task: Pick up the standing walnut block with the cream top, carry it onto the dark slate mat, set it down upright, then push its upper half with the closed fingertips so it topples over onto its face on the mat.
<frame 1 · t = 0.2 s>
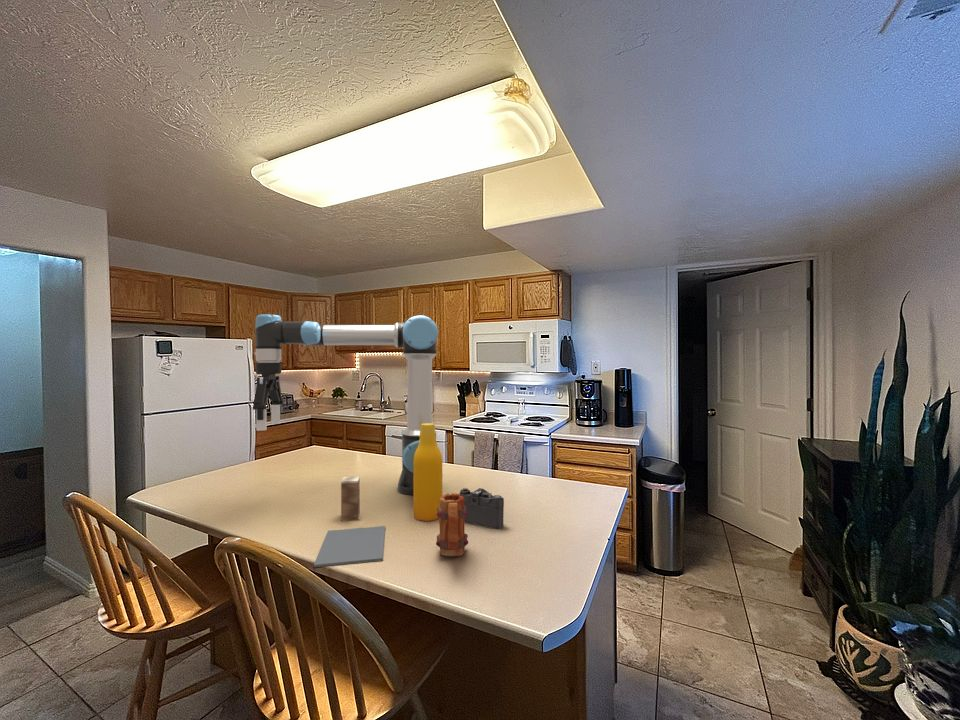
hand: (268, 427, 134), 28 cm above the countertop, fingers open, 13 cm apart
mat: (353, 545, 109), on the countertop
block: (350, 517, 129), on the countertop
beer bottle: (428, 516, 129), on the countertop
camera: (485, 520, 126), on the countertop
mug: (452, 558, 102), on the countertop
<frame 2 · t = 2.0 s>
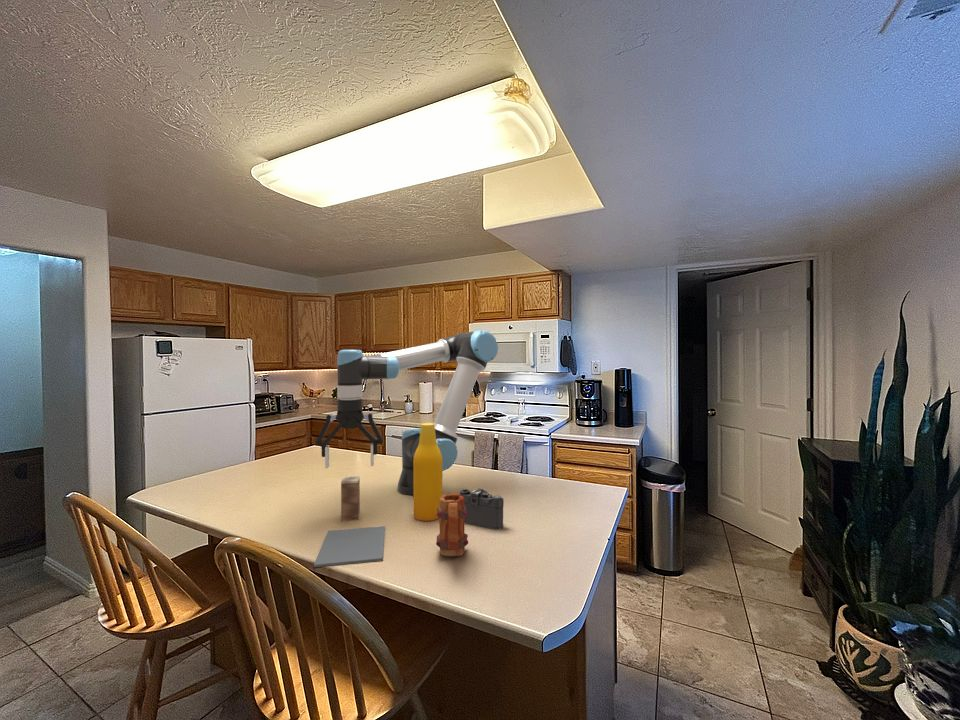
hand: (349, 466, 129), 16 cm above the countertop, fingers open, 13 cm apart
nothing on the countertop moved.
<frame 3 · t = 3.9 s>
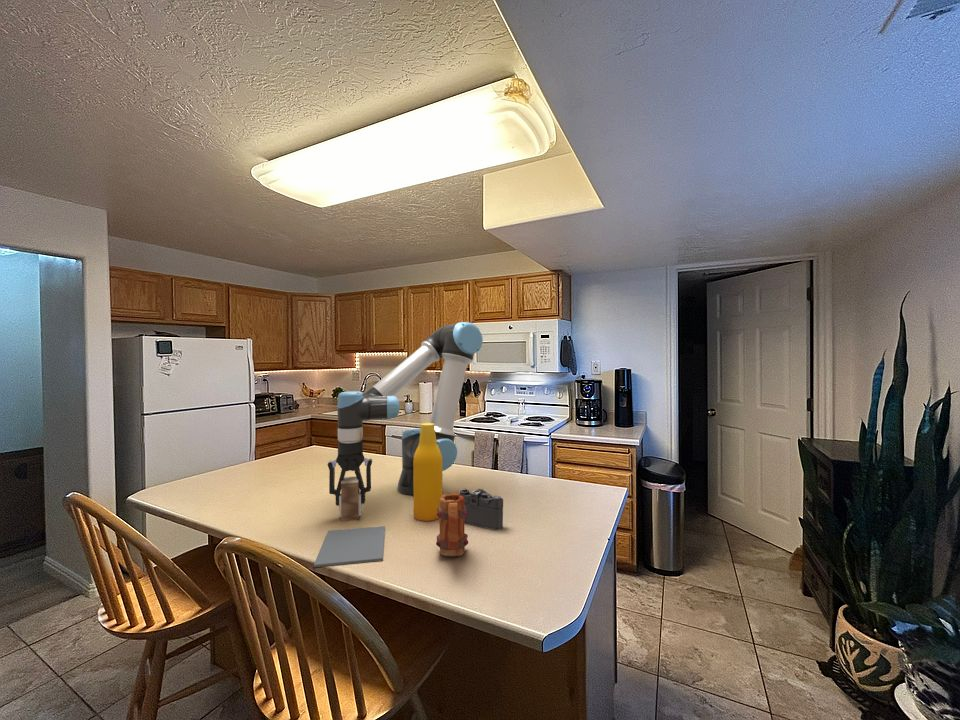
hand: (350, 514, 129), 1 cm above the countertop, fingers closed on block, 5 cm apart
block: (350, 517, 129), on the countertop, touching gripper
everything else where it was.
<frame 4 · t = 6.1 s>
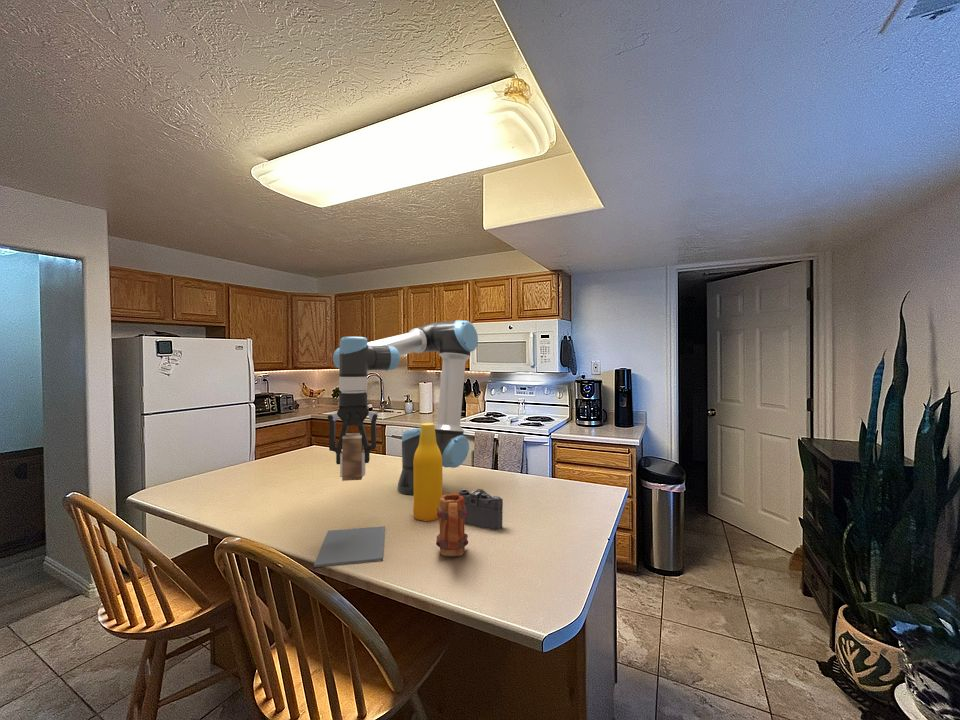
hand: (353, 475, 114), 17 cm above the countertop, fingers closed on block, 5 cm apart
block: (352, 477, 114), point 16 cm above the countertop, touching gripper
when the fingers open (3 cm above the countertop, at t = 8.1 s): block drops 1 cm, resting on mat.
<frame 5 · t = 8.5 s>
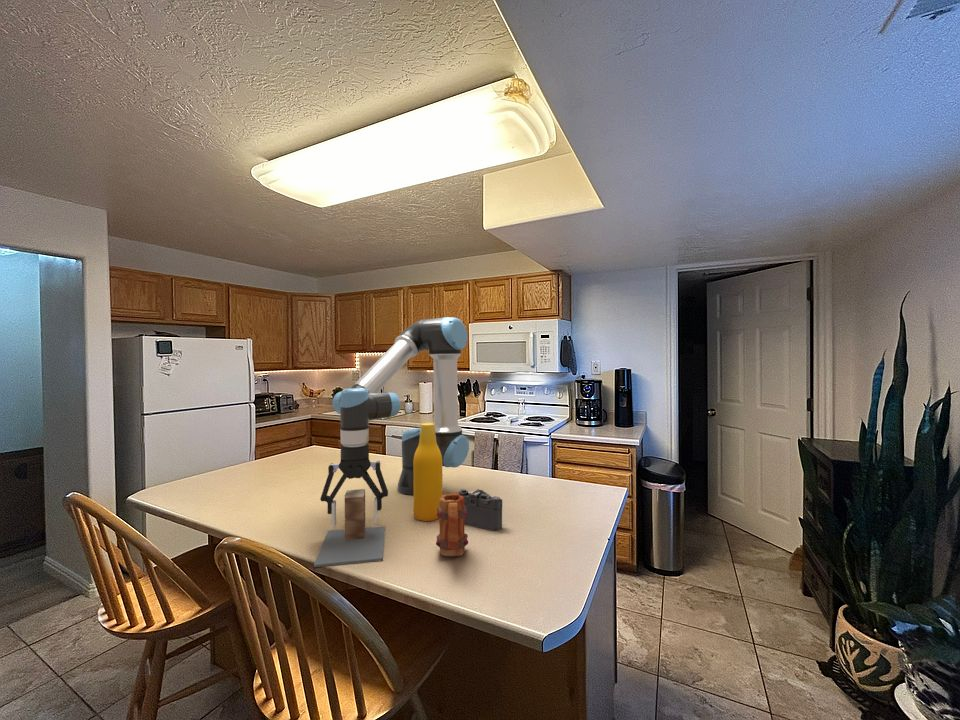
hand: (355, 523, 113), 4 cm above the countertop, fingers open, 10 cm apart
block: (355, 535, 113), point 1 cm above the countertop, touching mat
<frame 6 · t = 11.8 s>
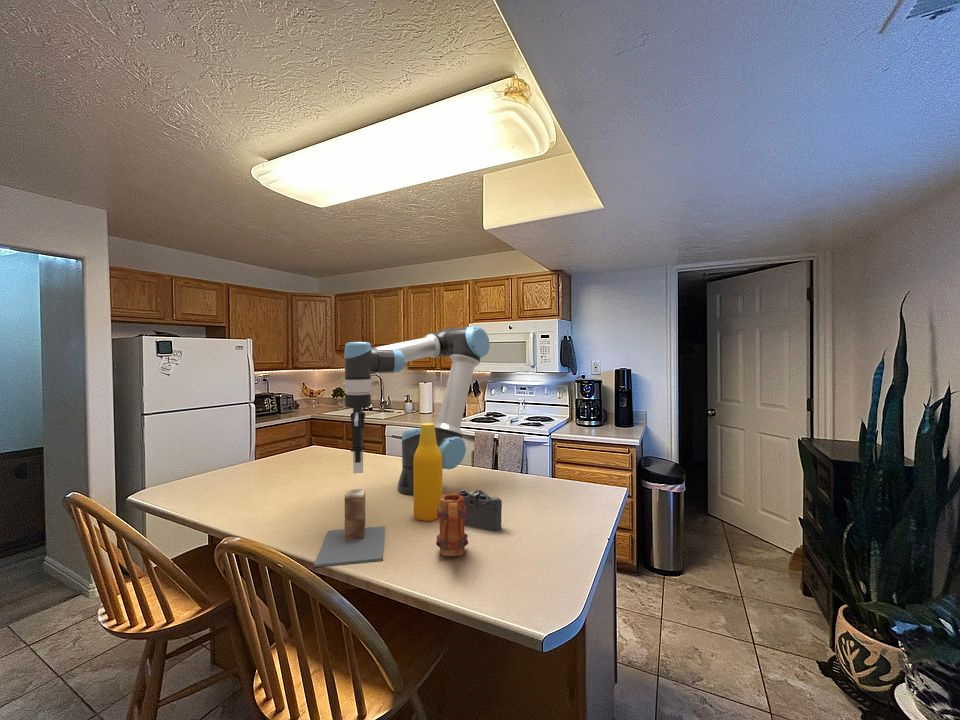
hand: (358, 472, 122), 16 cm above the countertop, fingers closed
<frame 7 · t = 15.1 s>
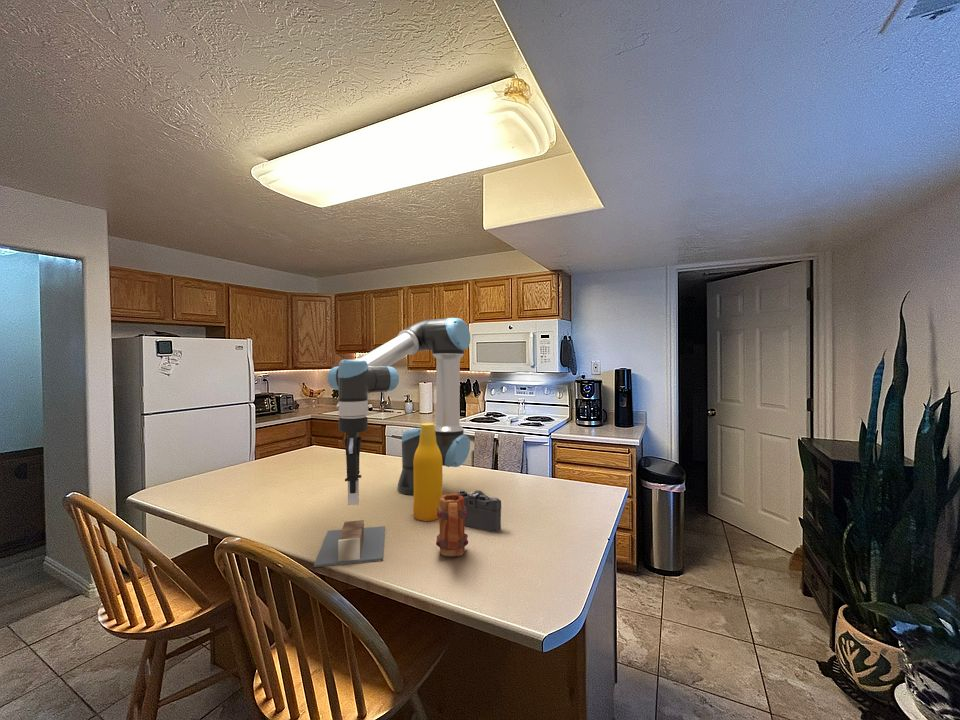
hand: (353, 503, 110), 11 cm above the countertop, fingers closed
block: (354, 530, 111), point 3 cm above the countertop, tilted 90°, touching mat
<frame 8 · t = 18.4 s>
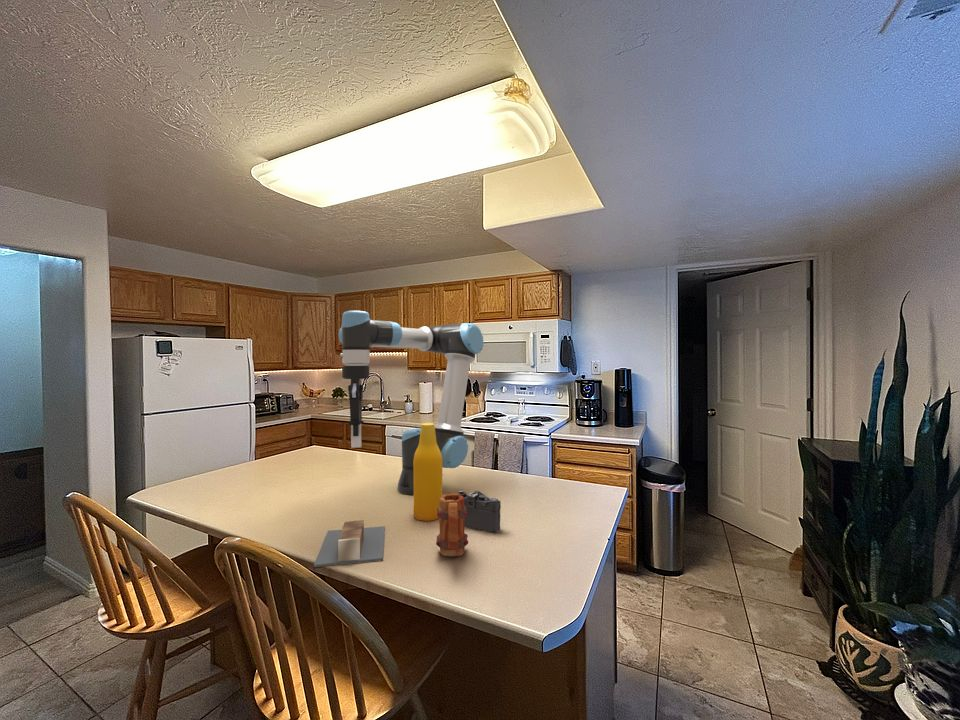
hand: (356, 446, 117), 24 cm above the countertop, fingers closed
at the end: block tilted 90°; block inside the target area (3.0 cm from its centre), point 3.1 cm above the countertop; the gripper is holding nothing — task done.
